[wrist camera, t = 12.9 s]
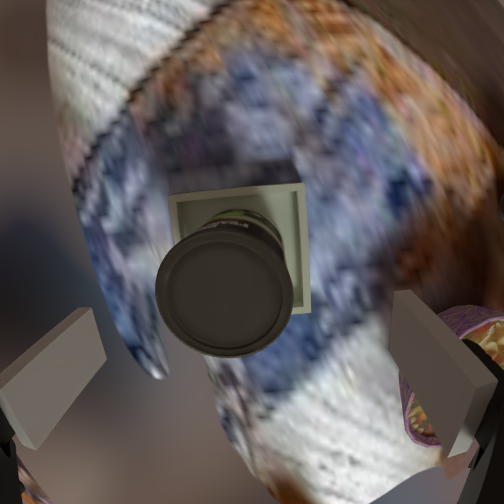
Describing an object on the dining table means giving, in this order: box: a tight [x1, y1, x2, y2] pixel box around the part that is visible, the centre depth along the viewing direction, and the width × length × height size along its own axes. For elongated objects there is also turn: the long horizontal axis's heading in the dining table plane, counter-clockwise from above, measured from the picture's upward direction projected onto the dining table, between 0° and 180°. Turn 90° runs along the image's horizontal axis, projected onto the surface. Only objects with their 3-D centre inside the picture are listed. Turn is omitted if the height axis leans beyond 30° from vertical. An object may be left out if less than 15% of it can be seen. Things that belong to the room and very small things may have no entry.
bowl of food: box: [399, 305, 504, 447], centre depth 34 cm, size 20×20×12 cm
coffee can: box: [155, 208, 294, 358], centre depth 30 cm, size 10×10×14 cm
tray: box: [168, 182, 311, 314], centre depth 36 cm, size 14×14×3 cm
